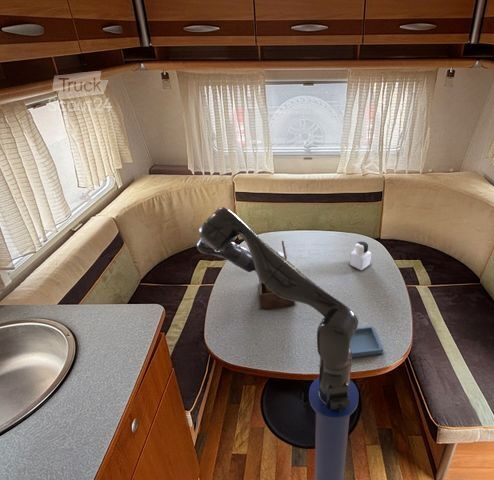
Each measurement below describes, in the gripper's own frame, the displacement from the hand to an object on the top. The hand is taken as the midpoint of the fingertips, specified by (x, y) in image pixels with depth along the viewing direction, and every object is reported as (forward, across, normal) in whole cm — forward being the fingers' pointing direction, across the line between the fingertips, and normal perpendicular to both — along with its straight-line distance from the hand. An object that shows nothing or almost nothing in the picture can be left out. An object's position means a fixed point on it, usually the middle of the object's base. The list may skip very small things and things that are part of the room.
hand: (274, 275), depth 149 cm
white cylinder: (+13, -18, -2) cm, 22 cm away
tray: (+19, +39, +4) cm, 44 cm away
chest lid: (0, +2, +7) cm, 7 cm away
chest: (+8, 0, -7) cm, 11 cm away
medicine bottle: (+39, -2, +24) cm, 46 cm away
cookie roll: (+5, 0, -7) cm, 9 cm away
